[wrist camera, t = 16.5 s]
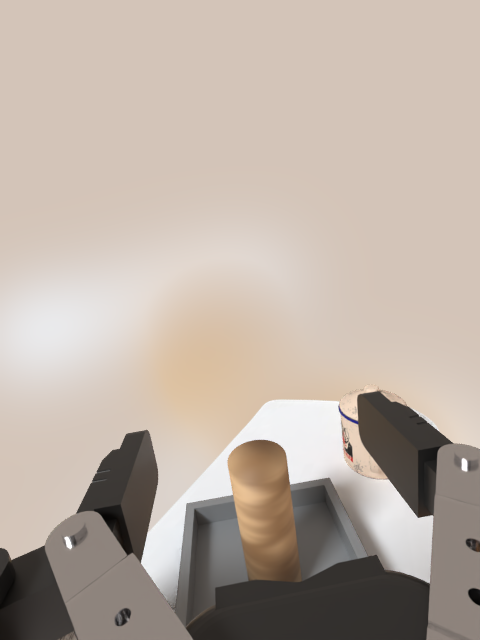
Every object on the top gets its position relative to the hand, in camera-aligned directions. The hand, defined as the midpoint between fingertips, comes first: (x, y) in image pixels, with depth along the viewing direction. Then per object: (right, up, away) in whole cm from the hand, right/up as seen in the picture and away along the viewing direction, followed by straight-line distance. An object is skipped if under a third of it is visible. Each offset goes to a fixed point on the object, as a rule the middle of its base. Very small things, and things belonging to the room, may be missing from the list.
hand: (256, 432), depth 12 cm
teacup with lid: (+19, -17, +34) cm, 42 cm away
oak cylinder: (+3, -21, +20) cm, 29 cm away
